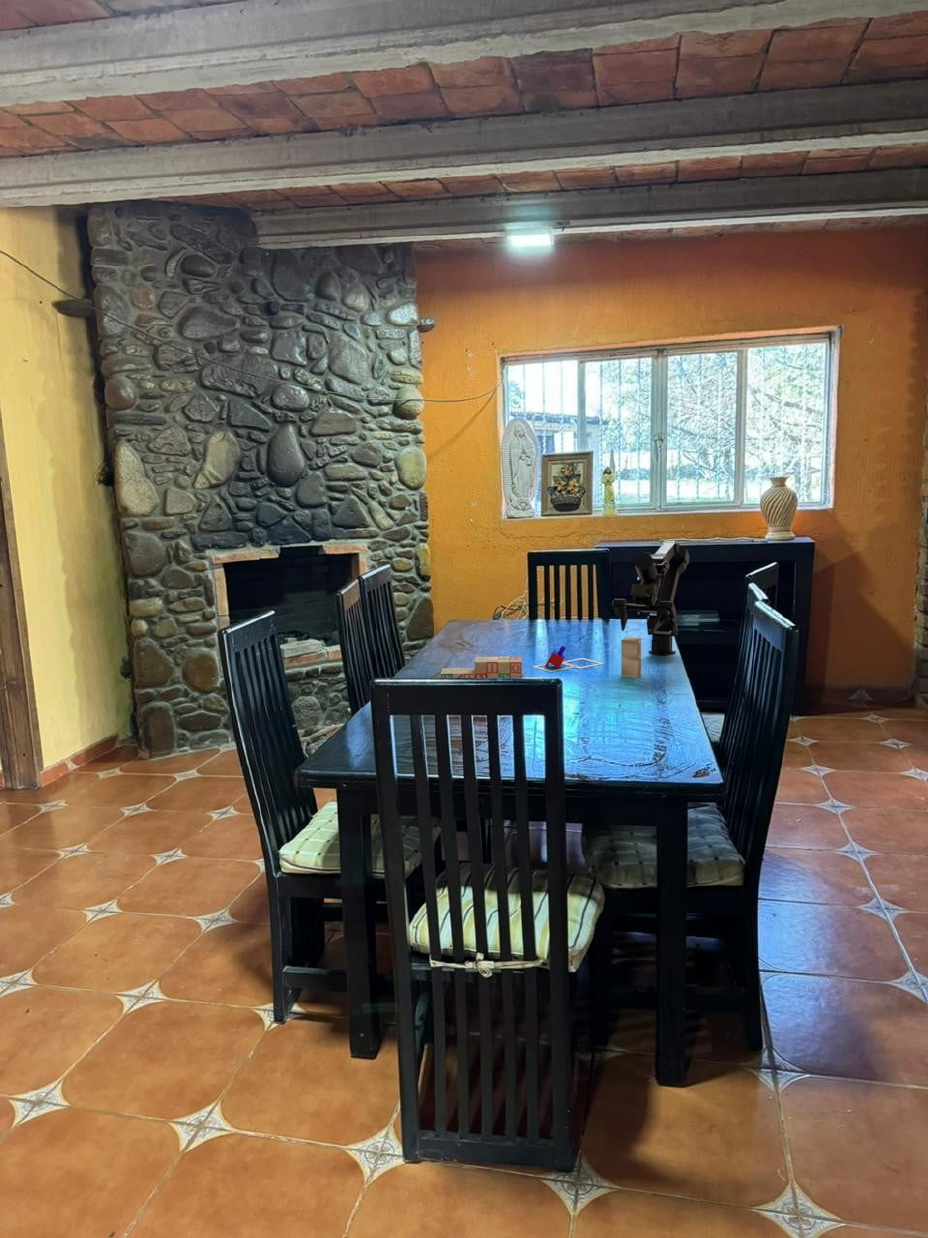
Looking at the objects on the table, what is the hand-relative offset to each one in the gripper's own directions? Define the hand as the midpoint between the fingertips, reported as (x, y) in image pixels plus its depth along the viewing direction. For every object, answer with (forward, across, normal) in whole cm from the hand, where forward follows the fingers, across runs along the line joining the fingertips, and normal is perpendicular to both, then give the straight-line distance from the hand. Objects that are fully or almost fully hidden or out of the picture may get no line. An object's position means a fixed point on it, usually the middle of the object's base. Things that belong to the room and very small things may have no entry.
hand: (637, 631), depth 242 cm
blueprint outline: (+9, -22, +8) cm, 25 cm away
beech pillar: (+13, 0, +5) cm, 13 cm away
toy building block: (+12, -25, +6) cm, 28 cm away
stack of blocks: (+44, -26, -26) cm, 58 cm away
